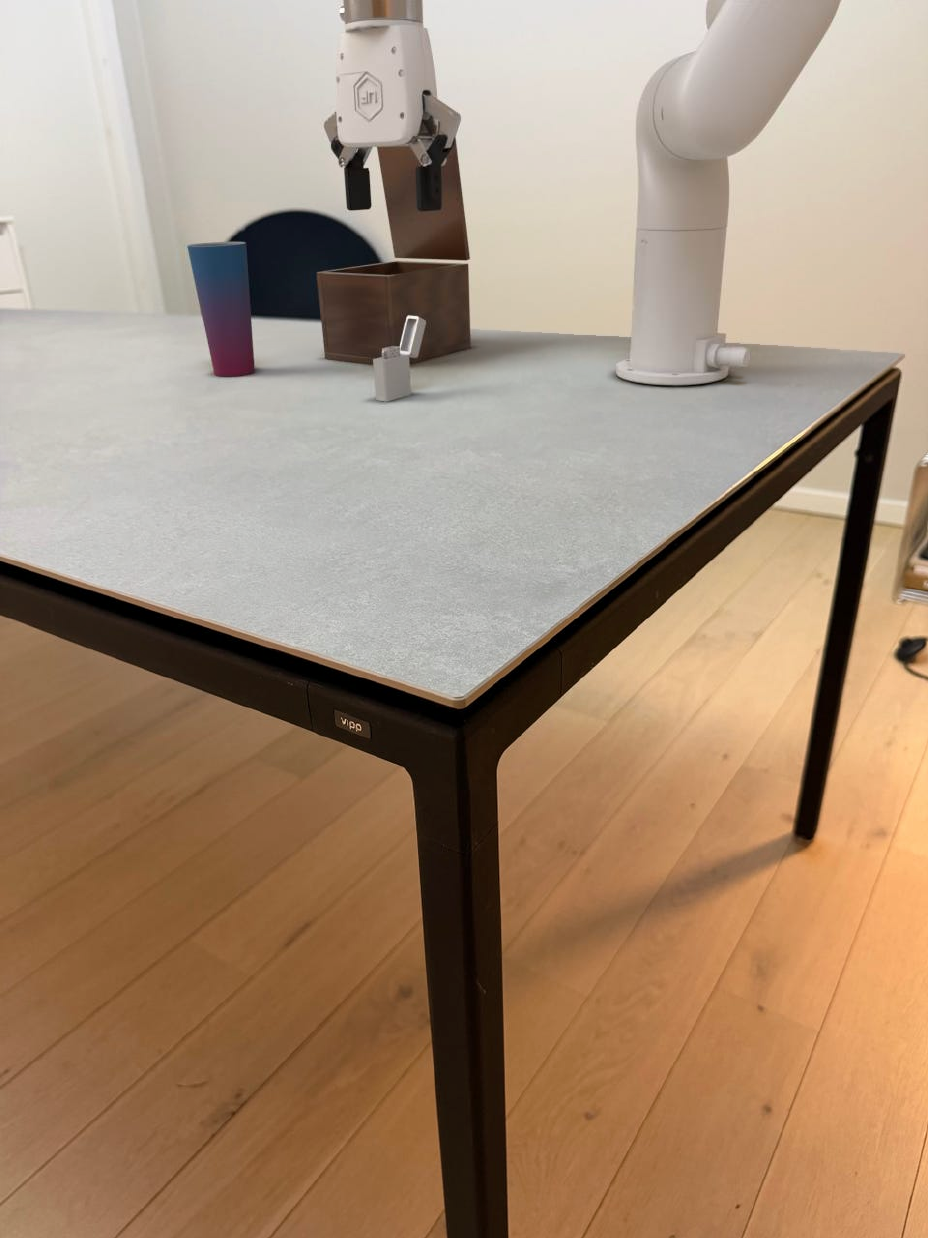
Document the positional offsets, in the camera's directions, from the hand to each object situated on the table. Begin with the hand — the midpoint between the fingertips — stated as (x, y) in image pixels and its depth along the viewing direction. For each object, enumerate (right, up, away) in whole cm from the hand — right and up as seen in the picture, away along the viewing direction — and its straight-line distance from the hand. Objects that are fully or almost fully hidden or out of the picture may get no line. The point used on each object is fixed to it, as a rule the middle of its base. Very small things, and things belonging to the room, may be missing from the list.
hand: (393, 209), depth 95 cm
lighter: (+1, -18, +6) cm, 19 cm away
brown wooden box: (-1, -6, +29) cm, 30 cm away
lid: (+2, +13, +25) cm, 28 cm away
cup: (-22, -11, +20) cm, 32 cm away
